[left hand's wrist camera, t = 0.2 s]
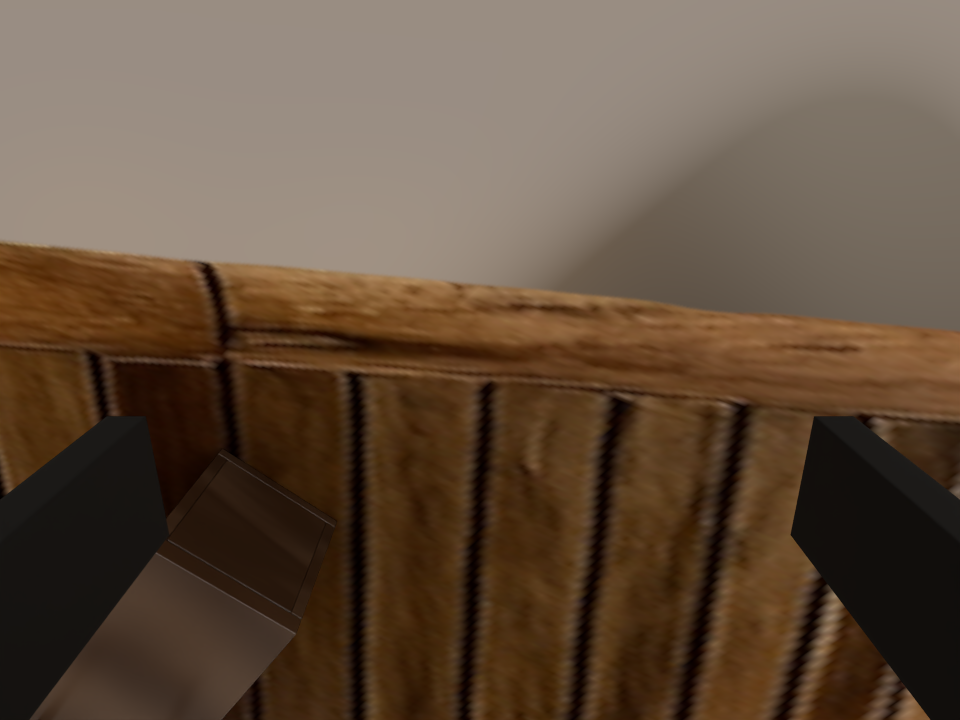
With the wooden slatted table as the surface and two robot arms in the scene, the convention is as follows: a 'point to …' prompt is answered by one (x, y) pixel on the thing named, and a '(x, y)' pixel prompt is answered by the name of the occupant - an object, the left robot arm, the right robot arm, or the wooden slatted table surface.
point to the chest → (253, 532)
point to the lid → (173, 647)
